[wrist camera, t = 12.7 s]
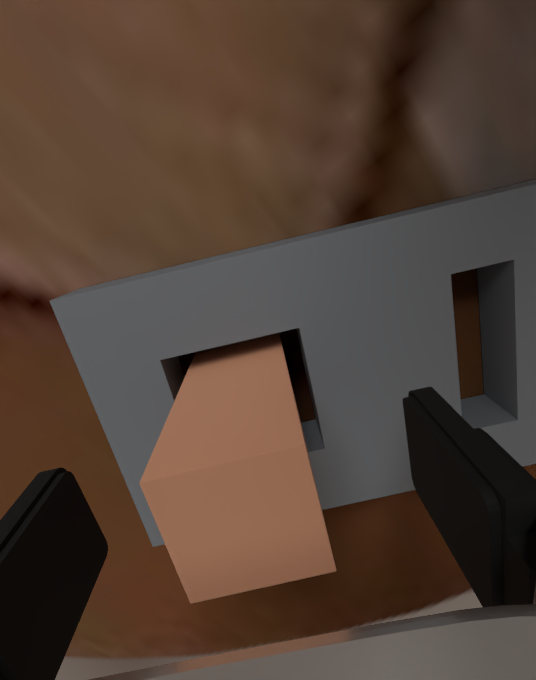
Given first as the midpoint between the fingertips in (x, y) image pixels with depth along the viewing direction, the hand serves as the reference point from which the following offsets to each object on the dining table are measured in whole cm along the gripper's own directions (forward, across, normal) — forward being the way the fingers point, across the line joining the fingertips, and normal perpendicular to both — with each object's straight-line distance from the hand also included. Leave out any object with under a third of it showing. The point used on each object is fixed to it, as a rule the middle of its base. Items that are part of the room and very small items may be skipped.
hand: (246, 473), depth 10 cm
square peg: (+8, 0, +1) cm, 8 cm away
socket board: (+8, -5, +1) cm, 9 cm away
